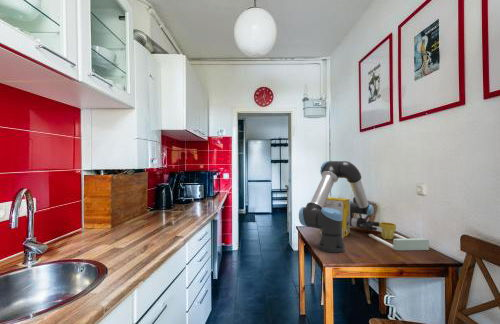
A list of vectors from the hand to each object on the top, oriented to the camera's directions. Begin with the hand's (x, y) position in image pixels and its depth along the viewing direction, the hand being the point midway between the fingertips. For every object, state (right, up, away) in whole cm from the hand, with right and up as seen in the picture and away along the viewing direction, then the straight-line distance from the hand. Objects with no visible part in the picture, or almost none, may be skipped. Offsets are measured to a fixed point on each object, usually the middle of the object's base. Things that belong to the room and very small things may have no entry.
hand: (387, 228), depth 183 cm
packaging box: (-33, -6, +9) cm, 35 cm away
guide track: (0, -6, -10) cm, 12 cm away
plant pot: (0, -7, -1) cm, 7 cm away
